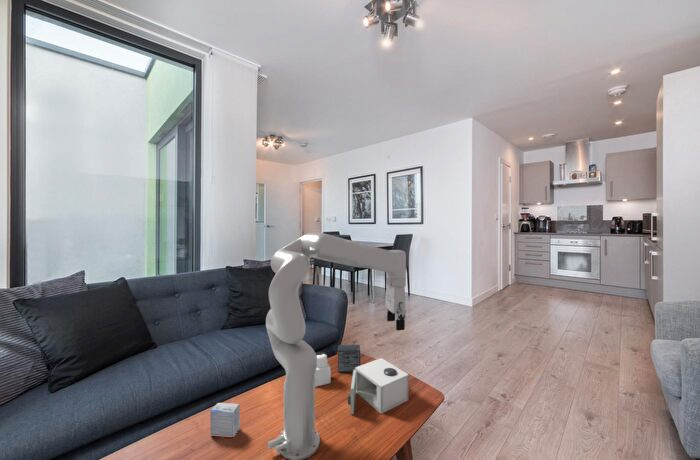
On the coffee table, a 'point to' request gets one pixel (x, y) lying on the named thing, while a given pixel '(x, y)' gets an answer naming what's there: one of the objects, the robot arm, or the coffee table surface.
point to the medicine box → (225, 419)
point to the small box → (348, 358)
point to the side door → (352, 393)
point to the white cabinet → (382, 384)
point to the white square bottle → (322, 370)
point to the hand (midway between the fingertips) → (395, 325)
